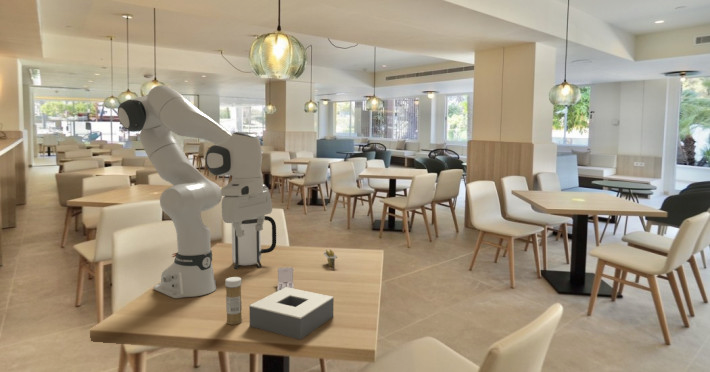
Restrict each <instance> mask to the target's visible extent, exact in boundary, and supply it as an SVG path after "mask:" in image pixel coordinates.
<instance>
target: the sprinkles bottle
mask: <svg viewBox="0 0 710 372" xmlns="http://www.w3.org/2000/svg"><path fill="white" fill-rule="evenodd" d="M224 283H225V284H224V285H225V288H226V289H225V290H226V292H225V293H226V294H225V301H226V302H225V303H226V304H225V305H226V324H228V325H233V326H235V325H238V324H240V323H242V321H243V319H242V310H243V309H242V306H243V305H242V278H241V277H239V276H232V277H230V276H229V277H228V278H225V282H224Z"/></svg>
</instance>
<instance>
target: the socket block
mask: <svg viewBox="0 0 710 372" xmlns="http://www.w3.org/2000/svg"><path fill="white" fill-rule="evenodd" d="M334 298H335V297H334V296H333V295H332V296H331V295H326V294H321V293H318V292H312V291H306V290H302V289H298V288H294V289H293V288H288V287H285V288H283V289H281V290H279V291H277V290H276V291H275V292H273V293H271V294H269V295H267V296H265V297H264V298H261V299H259V300H257V301H255V302H253V303H251V304H249V309H248V310H249V327H251V328H255V329H259V330H262V331H267V332H271V333H274V334H277V335H281V336H285V337H289V338H293V339H297V340H302V339H304V338H305V337H306V336H308V335H309V334H311V333H312V332H314V331H315V330H317V329H318V328H320V327H321V326H322V325H324V324H325V323H327V322H328V321H330V320H331V319H332V318H334Z"/></svg>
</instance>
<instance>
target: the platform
mask: <svg viewBox="0 0 710 372" xmlns="http://www.w3.org/2000/svg"><path fill="white" fill-rule="evenodd" d="M323 255H324V257H326V258H327V262H328V267H333V268H335V261H336V259H338V256H337V255H336V254H335V252H334V251H332V249H330V248H329V250H328V249H326V250H325V252H323Z"/></svg>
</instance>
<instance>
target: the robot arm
mask: <svg viewBox="0 0 710 372" xmlns="http://www.w3.org/2000/svg"><path fill="white" fill-rule="evenodd" d="M147 93H148V94H145V95H143V96H142V95H141V96H139V97H136V98H133V99H131V98H130V99H127V100H125V101H122V102H121V103H120V104H119V106H118V107H117V115H118V116H117V118H118V119H119V122H120V124H121V125H122V127H123V128H125V130H126V131H129V132H140V133H139V139H140V142H141V145H142V147H143V150H144V151H145V152H144V153H145V154H146V156H147V157H148V159H149V161H150V162H151V164H152V166H153V167H154V169H155V170H156V172H157V174H158V175H159V177H160V178H161V179H162V180H164V181H165V182H168V183H169V184H170V185H171V186H170V187H168V188H166V189H164V190H163V192H162V193H161V195H160V196H159V197H160V198H159V205H160V208H161V210H162V212H163V213H165V215H167V216H168V217H169V218H170V219H171V221H172V224H173V225H174V229H175V233H176V242H177V244H176V245H177V252H175V253H172V256H171V257H172V258H174V261H173V263H172V264H170V265H169V266H168V267H166V268H165V269H164V270H163V271H162V272H161V274H160V275H161V276H160V277H161V278H160V282H159V283H157V284H155V285H154V286H153V290H155V291H157V292H159V293H161V294H164V295H166V296H168V297H170V298H173V299H180V298H190V297H191V298H192V297H193V298H194V297H199V296H200V297H201V296H204V295H208V294H210V293H213V292H214V291H216V290H217V286H216V284H217V281H216V279H215V274H214V268H213V263H212V262H213V250H212V249H211V230H210V228H209V226H207V225H206V224H204V222H203V218H202V216H201V215H202V214H201V213H202V212H206V211H209V210H211V209H214V208H215V207H216V206H218V205H219V204H220V203H221V217H222V221H223V222H224V224H225V223H226V224H232V223H233V227H234V229H235V230H236V236H237V237H241V236H244V230H242V228H241V225H242V221H244V220H248V219H252V218H255V217H257V219H258V220H257V225H255V230H256V231H260V230H261V231H263V230H264V228H263V227H264V222H265V220H264V219H265V216H268V215H270V214H271V213H272V212H273V203H272V202H273V201H272V195H271V193H270V191H269V187H268V186H267V185H266V184H264V179H263V178H264V177H263V176H264V175H263V173H262V164H263V156H262V154H263V153H262V146H261V140H260V138H259V136H258V135H257V134H255V133H252V132H247V131H246V132H244V131H234V132H231V131H230V130H229V129H227V128H226V127H225V126H223V125H222V124H221V123H219V122H218V121H216V120H215V119H213V118H212V117H210V116H209V115H208V114H206V113H204V112H203V111H202V110H200V109H199V108H198V107H197V106H195V105H194V104H193V103H191V101H189V99H187V97H185V96H184V95H183V94H181V93H180V92H178V91H177V90H176V89H174V88H172V87H170V86H168V85H164V84H160V85H156V86H154V87H153V88H151V89H150V90H149V92H147ZM172 133H174V134H175V135H177V136H180V137H186V138H195V139H201V140H205V141H207V142H208V141H209V142H211V143H213V145H211V146H210V147H209V148H208V149H207V151H206V153H205V157H204V161H205V166H206V169H207V171H209V173H210V174H212V175H213V176H219V177H223V176H227V177H228V176H231V182H229V183H228V184H226V185H225V186H224V187H222V188H221V187H220V186H219V185H218V184H217V183H216V182H214V181H212V180H210V179H209V178H207V177H206V176H205V175H203V174H202V173H201V172H200V171H199V170H198V169H197V168H196V166H194V164H193V163H191V161H190V160H189V158H188V157H187V155H186V154H185V152H184V151H183V148H181V146H180V143H178V141H177V139H176V138H175V137H174V135H173V134H172Z"/></svg>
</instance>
